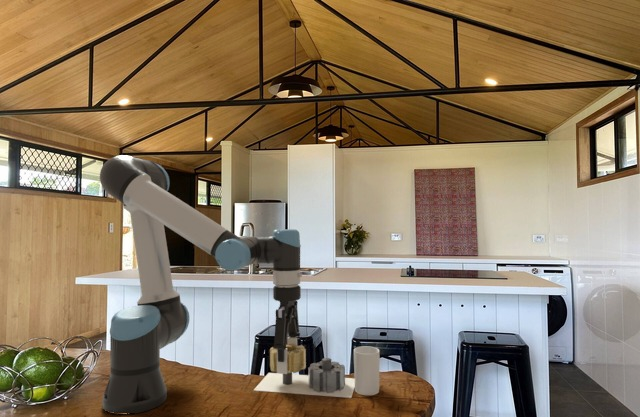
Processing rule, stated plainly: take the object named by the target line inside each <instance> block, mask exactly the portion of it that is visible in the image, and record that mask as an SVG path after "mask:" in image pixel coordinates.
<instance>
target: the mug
mask: <svg viewBox="0 0 640 417" xmlns="http://www.w3.org/2000/svg"><path fill="white" fill-rule="evenodd" d="M380 359H381V357H380V349H379V348H377V347H374V346H367V345H366V346H364V345H363V346H357V347H355V348H354V349H353V367H354V368H353V369H354V372H353V375H354V378H355V388H354V391H355V392H356V393H357V394H359V395H361V396H374V395H377V394H378V393H380Z"/></svg>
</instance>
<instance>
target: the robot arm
mask: <svg viewBox="0 0 640 417" xmlns="http://www.w3.org/2000/svg"><path fill="white" fill-rule="evenodd" d="M99 182H100V184H101V187H102V188H103V190H104V191H105V192H106V193H107V194H108V195H110V197H113V198H114V199H116V200H118V202H121V203H122V204H123V205H122V207H123V209H124V210H125V211H127V212H128V213H129V214H130V222H131V228H132V234H133V235H132V236H133V242H134V248H135V250H134V251H135V256H136V262H137V263H136V264H137V269H138V277H139V284H140V285H139V286H140V291H141V296H140V298H139V299H138V300H137V302H136V303H137V304H136V305H134V306H132V307H127V308H123V309H121V310H119V311H117V312H115V313H114V315H113V316H112V317H111V320H110V328H109V335H110V341H109V342H110V345H109V346H110V363H109V364H110V366H109V367H110V373H109V374H110V376H109V378H108V381H107V383H106V387H105V390H104V393H103V396H102V406H103V407H102V410H103V409H105V410H106V411H109V412H114V413H127V414H126V415H129V414H128V413H135V414H140V413H143V412H147V411H150V410H153V409H154V408H157V407H159V406H161V405H162V404H163V403H165V401H166V400H167V398H168V397H167V396H168V394H167V393H168V391H167V390H168V388H167V385H166V383H165V380H164V377H163V374H162V371H161V368H160V367H161V366H160V363H161V362H160V360H161V357H160V354H161V353H160V352H161V350H162V349H163V348H165V347H166V346H167V345H170V344H173V343H174V342H176V341H177V340H178V339H180V337H182V336H183V335H184V334H185V333H186V331H187V330H188V327H189V324H190V312H189V310H188V307H187V306H186V305H185V304H184V303H183V302H181V296H180V293H179V292H178V291H176V290H175V289H174V284H173V279H172V272H171V263H170V259H169V251H168V245H167V244H168V242H167V238H166V232H165V231H166V230H165V227H166V228H168V229H170V230H171V231H173V232H174V233H176V234H178V235H179V236H181V237H182V238H184V239H185V240H187V241H188V242H190V243H192V244H193V245H195V246H196V247H198V248H199V249H200V250H202V251H204V252H206V253H207V254H208V255H210V256H211V257H214V259H215V260H216V263H217V264H218V265H219V267H221V268H222V269H223V270H227V271H239V270H241V269H243V268H245V267H248V266H251V265H254V264H256V265H257V264H272V266H273V268H272V279H273V280H272V283H273V285H274V286H273V287H272V288H273V289H272V290H273V292H272V294H273V299H274V301H276V302H279V306H278V308H277V309H276V310H275V325H274V339H273V340H274V341H273V346H272V347H273V349H277V371H276V373H278V374H287V373H288V369H287V348H286V345H289V344H295V345H298V338H299V337H300V336H301V333H300V326H299V323H300V322H299V313H298V301H299V300H300V299H301V294H302V293H301V292H302V291H301V286H300V285H299V284H301V277H303V273H302V272H301V247H302V246H301V240H300V237H301V236H300V231H299V230H297V229H292V228H290V229H289V228H288V229H285V228H284V229H281V228H280V229H273V231H272V236H247V235H244V236H241V235H240V236H238V235H236V234H235V233H233V232H231V231H229V229H227V228H225V227H224V226H222V225H221V224H219V223H217V222H216V221H215V220H213V219H211V218H210V217H208V216H206V215H205V214H204V213H202V212H200V211H198V210H197V209H196V208H194V207H192V206H190V205H189V204H188V203H186V202H184V201H183V200H181V199H180V198H179V197H176V195H174V194H172V193H170V192H168V191H169V190H170V189H169V188H170V176H169V174H168V172H167V171H166V170H165V168H164V167H163V166H162V165H160V164H158V163H156V162H154V161H151V160H148V159H141V158H137V157H134V156H131V155H127V154H126V155H123V154H121V155H116V156H112V157H111V158H109V159H108V160H107V161H105V163H104V164H103V165H102V167H101V169H100V172H99Z"/></svg>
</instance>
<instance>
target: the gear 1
mask: <svg viewBox="0 0 640 417" xmlns="http://www.w3.org/2000/svg"><path fill="white" fill-rule="evenodd" d="M286 348H287V369H288V373H291V372H292V374H295V373H300V371H301V370H306V368H307V365H306V364H307V362H306V361H307V359H306V358H307V357H306V356H307V353H306V352H307V351H306V350H307V349H306V348H305V345H302V344H301V345H298V344H297V345H295V344H289V345H287V344H286ZM269 368H270V371H271V372H272V373H277V349H273V346H272V347H270V349H269Z"/></svg>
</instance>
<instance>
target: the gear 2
mask: <svg viewBox="0 0 640 417" xmlns="http://www.w3.org/2000/svg"><path fill="white" fill-rule="evenodd" d="M307 370H308V372H307V373H308V374H307V375H308V382H309V388H313V389H314V391H316V392H319V393H320V392H321V391H322V392H327V393H334V391H337V390H340V391H341V390H342V389H344V385H345V378H346V366H345V364H340V362H338V361H331V370H322V360H321V361H319V362H313V363H310V365H309V367H308V368H307Z"/></svg>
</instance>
